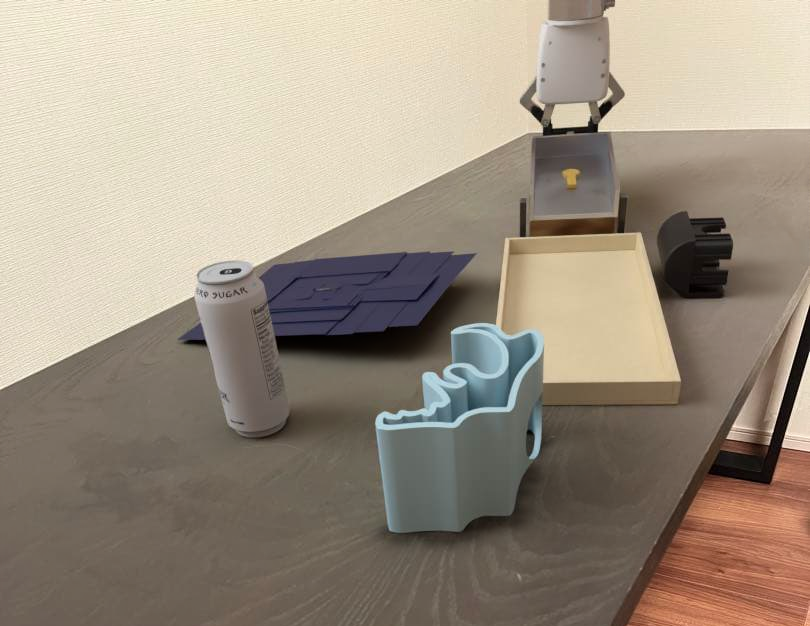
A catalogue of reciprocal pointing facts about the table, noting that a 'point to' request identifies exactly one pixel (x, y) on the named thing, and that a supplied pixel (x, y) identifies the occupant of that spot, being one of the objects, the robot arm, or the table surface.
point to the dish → (592, 186)
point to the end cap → (694, 255)
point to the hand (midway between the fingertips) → (569, 151)
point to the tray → (590, 318)
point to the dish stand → (574, 223)
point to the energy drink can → (242, 347)
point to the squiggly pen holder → (465, 433)
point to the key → (571, 177)
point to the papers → (354, 292)
